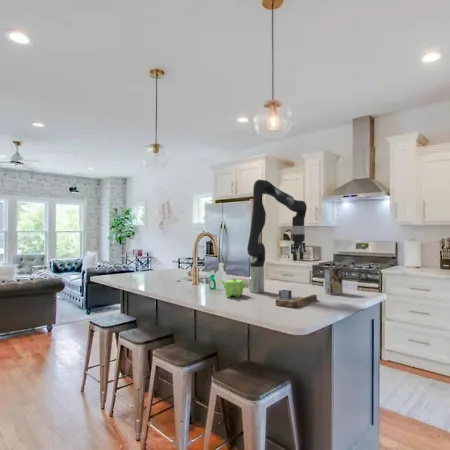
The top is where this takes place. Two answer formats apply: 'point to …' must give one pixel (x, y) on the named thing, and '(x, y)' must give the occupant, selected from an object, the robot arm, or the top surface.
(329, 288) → the coffee box
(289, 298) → the grey concrete tile
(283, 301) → the wooden tray
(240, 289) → the kettle
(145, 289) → the top surface
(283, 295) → the clip
